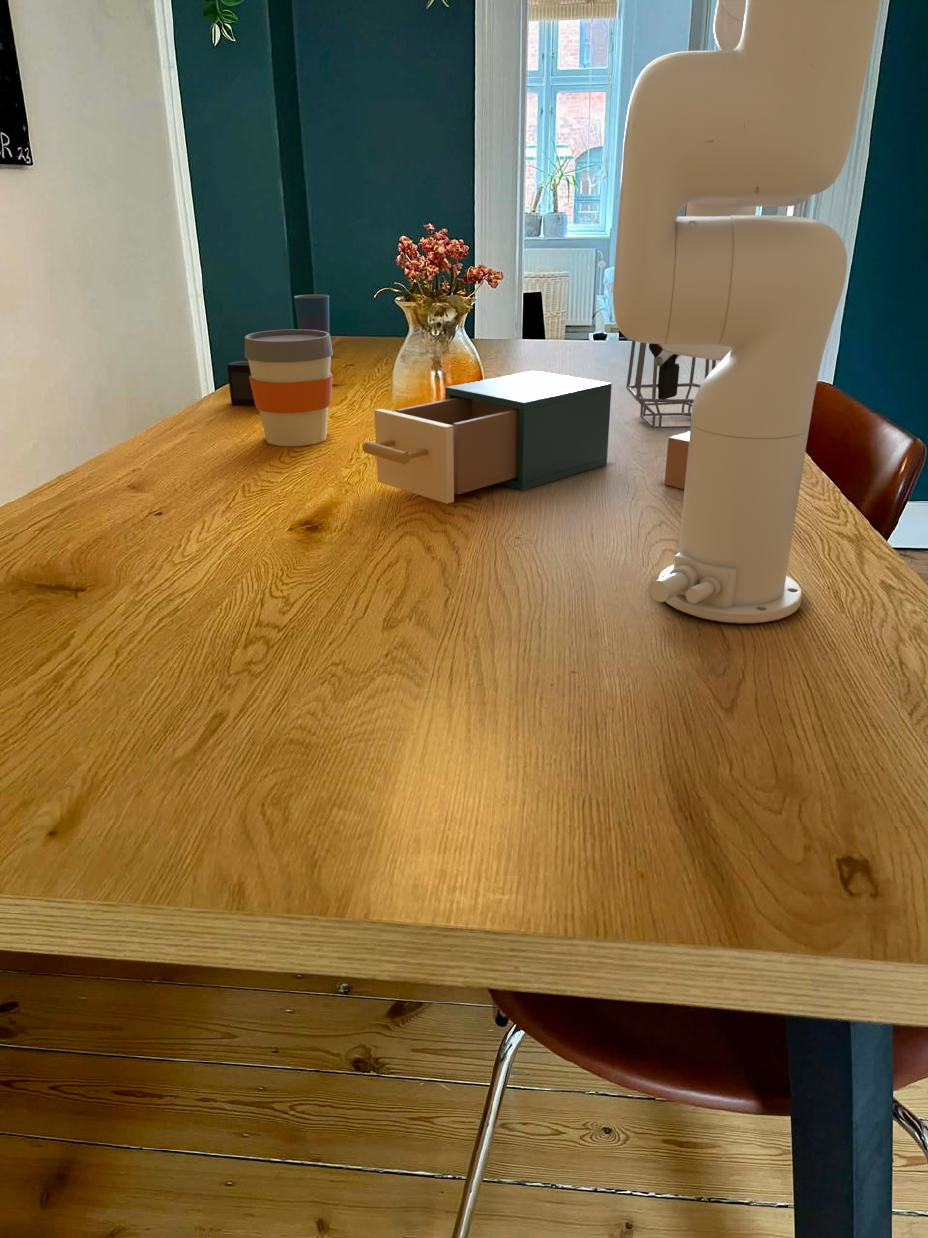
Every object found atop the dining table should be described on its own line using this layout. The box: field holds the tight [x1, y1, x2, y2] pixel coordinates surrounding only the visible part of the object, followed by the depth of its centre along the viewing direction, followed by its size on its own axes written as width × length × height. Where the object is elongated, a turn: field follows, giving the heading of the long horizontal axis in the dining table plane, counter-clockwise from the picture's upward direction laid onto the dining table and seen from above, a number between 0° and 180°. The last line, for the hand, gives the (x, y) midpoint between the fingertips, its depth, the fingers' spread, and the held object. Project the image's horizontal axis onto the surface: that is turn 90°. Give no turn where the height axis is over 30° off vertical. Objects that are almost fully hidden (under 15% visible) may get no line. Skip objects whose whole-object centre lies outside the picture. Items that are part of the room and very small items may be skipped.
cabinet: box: [444, 369, 613, 491], centre depth 120 cm, size 17×14×11 cm
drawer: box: [362, 397, 519, 505], centre depth 111 cm, size 20×13×9 cm, turn 134°
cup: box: [293, 294, 330, 334], centre depth 183 cm, size 7×7×15 cm
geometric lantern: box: [625, 204, 722, 430], centre depth 138 cm, size 16×16×35 cm
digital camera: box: [226, 360, 256, 407], centre depth 158 cm, size 10×5×7 cm, turn 80°
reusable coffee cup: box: [244, 329, 334, 447], centre depth 134 cm, size 13×13×15 cm
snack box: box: [663, 430, 690, 490], centre depth 114 cm, size 4×6×6 cm
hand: (700, 403), depth 111 cm, fingers open, 9 cm apart
